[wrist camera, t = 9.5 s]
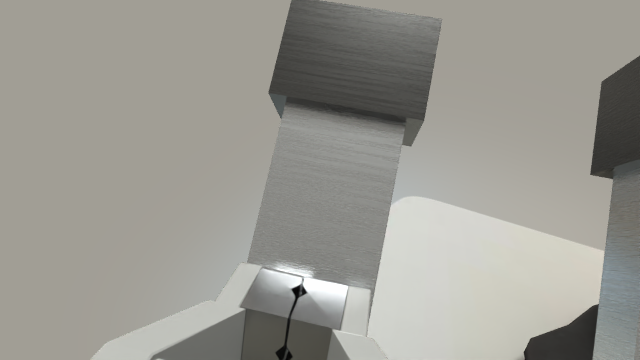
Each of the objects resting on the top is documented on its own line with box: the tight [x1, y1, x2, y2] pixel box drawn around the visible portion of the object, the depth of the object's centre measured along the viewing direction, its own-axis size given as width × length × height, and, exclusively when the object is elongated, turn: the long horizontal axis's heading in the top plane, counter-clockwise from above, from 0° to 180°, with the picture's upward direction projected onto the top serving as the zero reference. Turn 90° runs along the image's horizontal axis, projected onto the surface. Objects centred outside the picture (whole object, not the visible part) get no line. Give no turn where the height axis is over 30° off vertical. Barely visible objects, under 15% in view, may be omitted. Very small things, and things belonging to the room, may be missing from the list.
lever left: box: [247, 0, 442, 323], centre depth 11 cm, size 4×2×15 cm
